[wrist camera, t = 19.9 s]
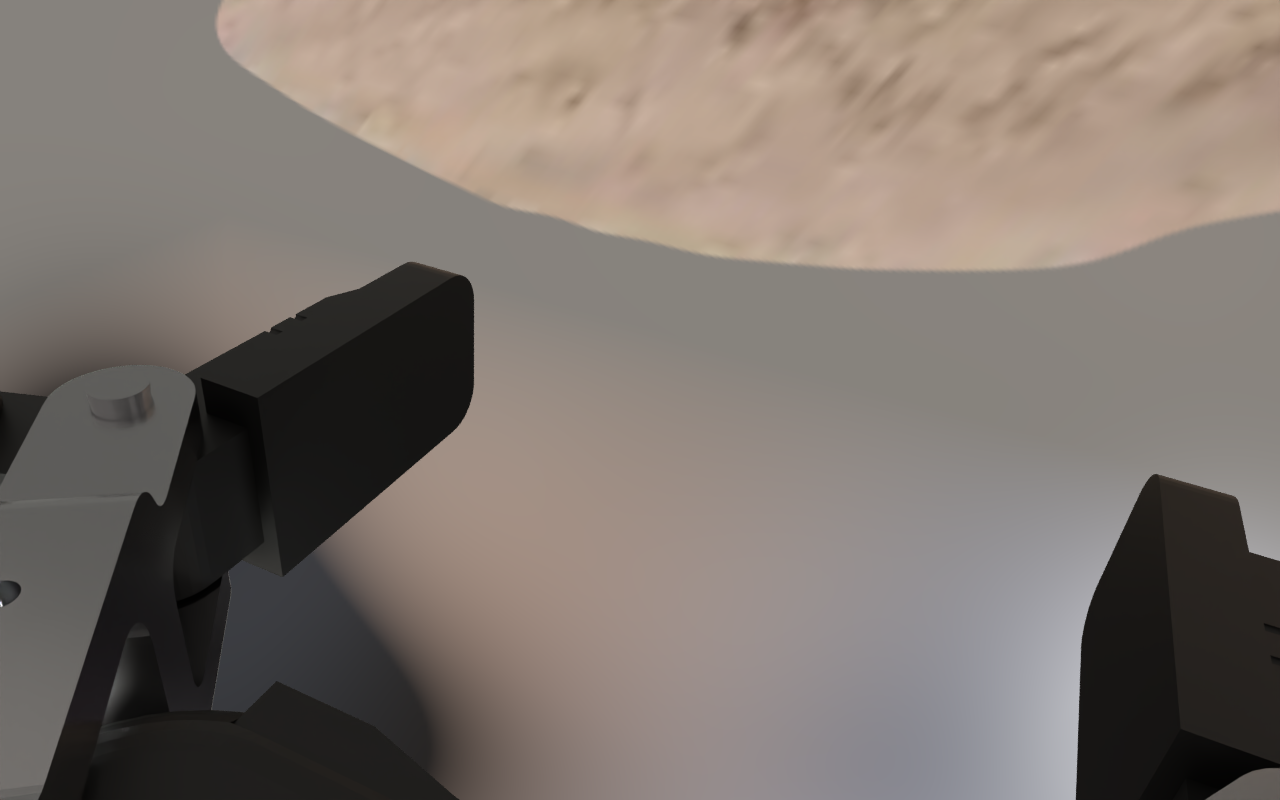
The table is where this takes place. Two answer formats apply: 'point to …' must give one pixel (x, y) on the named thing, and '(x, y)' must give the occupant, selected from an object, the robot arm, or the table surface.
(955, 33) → the table surface
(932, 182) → the table surface
